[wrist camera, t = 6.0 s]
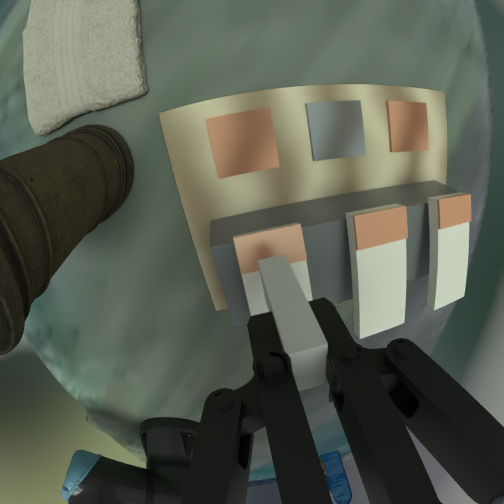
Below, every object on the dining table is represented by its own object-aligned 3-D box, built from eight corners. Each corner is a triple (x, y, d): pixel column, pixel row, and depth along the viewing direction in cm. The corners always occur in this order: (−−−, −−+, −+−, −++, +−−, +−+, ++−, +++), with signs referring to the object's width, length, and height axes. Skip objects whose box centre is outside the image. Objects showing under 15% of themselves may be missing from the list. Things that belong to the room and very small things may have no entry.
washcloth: (142, -49, 10) (135, -63, 7) (154, 95, 19) (146, 93, 16) (40, -3, 10) (26, -10, 7) (46, 136, 19) (29, 141, 16)
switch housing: (230, 292, 27) (234, 327, 23) (210, 220, 23) (209, 247, 19) (428, 243, 28) (453, 264, 23) (434, 180, 24) (465, 195, 19)
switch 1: (261, 354, 21) (264, 370, 19) (233, 234, 20) (233, 238, 17) (312, 342, 21) (321, 356, 19) (292, 222, 20) (300, 223, 17)
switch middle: (349, 325, 22) (361, 340, 20) (340, 211, 19) (354, 215, 17) (391, 311, 22) (405, 324, 20) (388, 202, 19) (405, 205, 17)
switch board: (216, 302, 29) (216, 313, 28) (162, 113, 20) (157, 113, 18) (430, 248, 30) (438, 255, 28) (435, 91, 20) (446, 92, 18)
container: (129, 115, 19) (-38, 148, 3) (141, 211, 23) (55, 374, 8) (48, 137, 18) (-103, 207, 3) (64, 222, 23) (-41, 350, 7)
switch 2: (421, 300, 22) (436, 311, 20) (420, 196, 19) (439, 199, 17) (450, 288, 22) (465, 297, 20) (452, 191, 19) (470, 194, 17)
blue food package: (338, 450, 67) (357, 510, 45) (332, 459, 73) (349, 513, 51) (320, 455, 66) (338, 517, 45) (316, 463, 72) (331, 518, 51)
